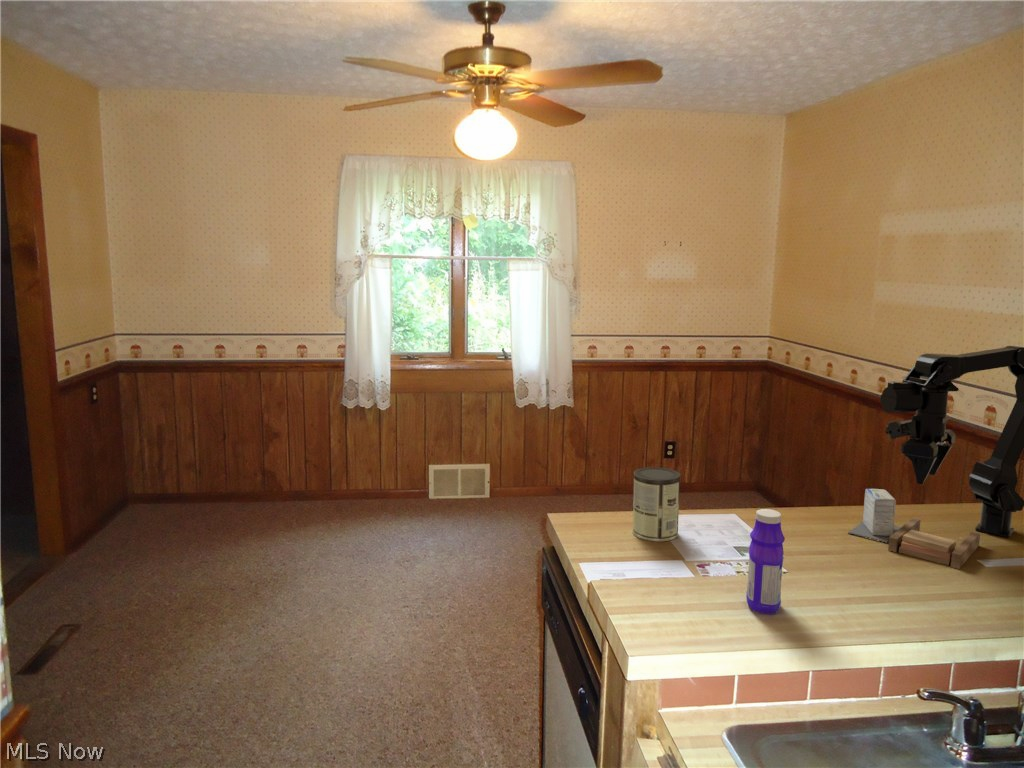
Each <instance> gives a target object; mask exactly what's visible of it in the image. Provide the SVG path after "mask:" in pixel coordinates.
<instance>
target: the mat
mask: <svg viewBox="0 0 1024 768" xmlns="http://www.w3.org/2000/svg"><path fill="white" fill-rule="evenodd" d="M901 527H902V526H897V525H894V533H895V532H896V531H898V530H899V529H900V528H901ZM894 533H893V534H894ZM847 534H848V535H851V534H854V535H853V536H855V535H859V536H862V537H861V538H863V537H867V538H871V539H875V540H879V541H882V542H885V543H884V544H886V543H887V542H888V541H889V537H890V536H877V535H872V533H871V532H870V531H869V530H868V529H867V527H866V526H865V525H864V524H863V521H862V522H860V523H859V524H857V525H856V526H855V527H853V528H852V529H850V530H849V531H848V532H847ZM859 536H858V537H859ZM867 538H866V539H867ZM871 539H870V540H871ZM882 542H881V543H882ZM888 543H889V542H888ZM888 543H887V544H888Z"/></svg>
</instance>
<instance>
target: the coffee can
mask: <svg viewBox="0 0 1024 768" xmlns="http://www.w3.org/2000/svg"><path fill="white" fill-rule="evenodd" d="M681 477H682V476H681V473H680V472H678V471H677V470H674V469H670V468H665V467H654V466H652V467H651V466H650V467H649V466H648V467H643V468H642V467H641V468H638V469H635V470H634V471H633V504H632V508H633V509H632V510H633V512H632V533H633V535H634V536H635V537H637V538H639V539H641V540H644V541H650V542H663V543H664V542H668V541H669V542H670V541H673V540H675V539H677V538H678V536H679V514H680V513H679V511H680V488H681V487H680V486H681V484H680V483H681V482H680V481H681Z"/></svg>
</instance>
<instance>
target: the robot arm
mask: <svg viewBox="0 0 1024 768" xmlns="http://www.w3.org/2000/svg"><path fill="white" fill-rule="evenodd" d="M1006 367H1007V369H1008V371H1009V372H1010V373H1011V374H1012V375H1013V376H1014V377H1015V378H1016V380H1015V384H1014V390H1015V395H1016V396H1015V397H1016V401H1015V403H1014V405H1013V407H1012V409H1011V412H1010V414H1009V416H1008V418H1007V420H1006V423H1005V425H1004V426H1003V429H1002V431H1001V433H1000V436H999V438H998V439H997V441H996V442H997V443H996V445H995V447H994V449H993V452H992V453H991V456H990V457H989V458H988V459H987V460H985V461H984V462H981V461H976V462H975V463H974V465H973V468H972V471H971V472H970V474H969V475H968V478H969V482H968V486H969V487H970V490H971V491H972V493H973V498H974V499H975V500H977V501H980V502H982V503H981V513H980V521H979V523H978V524H977V525H976V526H975V528H974V529H975V530H974V531H976V532H981V533H982V532H983V533H987V534H991V535H996V536H1001V537H1005V538H1010V537H1011V536H1012V534H1013V533H1014V532H1015V528H1014V527H1012V520H1013V519H1012V518H1013V513H1016V512H1021V511H1022V510H1023V509H1024V499H1023V498H1022V496H1020V495H1019V493H1018V492H1017V491H1016V488H1017V485H1018V475H1017V473H1018V472H1017V468H1016V467H1017V464H1018V463H1019V460H1020V458H1021V456H1022V453H1023V451H1024V347H1023V346H1016V345H1007V346H1004V347H1000V348H999V347H998V348H993V349H986V350H980V351H973V352H967V353H960V354H959V353H958V354H945V353H922V354H921V355H919V356H918V358H917V359H916V361H915V364H914V366H912V368H911V369H910V370H909V372H908V373H906V374H907V375H906V376H905V377H904V378H903V380H902V381H900V382H899V381H888V382H887V387H885V388H884V389H883V390H882V392H881V393H882V394H880V398H879V399H880V405H881V408H882V409H883V410H884V412H886V413H888V414H890V413H891V414H893V413H895V414H896V413H914V412H915V414H913V416H911V419H908V420H902V421H899V420H897V419H896V420H894V421H889V422H888V425H885V434H886V435H888V437H889V440H896V439H897V438H902V437H909V439H907V440H906V441H905V442H903V443H901V445H900V446H901V449H900V453H901V454H903V456H904V457H906V458H907V459H909V460H910V461H911V464H912V467H913V472H914V476H915V480H916V483H917V484H918V485H919V484H920V485H924V483H925V481H926V479H927V478H928V475H931V476H935V475H936V473H937V472H938V470H939V468H940V467H941V465H942V463H943V462H944V460H945V459H946V457H947V455H948V454H949V452H950V451H951V449H952V448H953V446H954V444H955V443H956V433H955V432H954V431H953V430H952V429H947V427H946V423H947V421H949V419H950V416H949V415H947V414H948V413H947V412H948V411H947V410H948V400H949V392H958V391H959V388H958V387H957V385H955V384H954V383H953V381H955V380H957V379H960V378H961V377H962V376H964V375H966V374H969V373H973V372H980V371H981V372H982V371H986V370H993V369H994V370H995V369H1000V368H1006ZM947 442H948V443H947Z"/></svg>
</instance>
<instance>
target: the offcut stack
mask: <svg viewBox="0 0 1024 768" xmlns="http://www.w3.org/2000/svg"><path fill="white" fill-rule="evenodd" d="M956 547H957V540H955V539H950V538H947V537H943V536H939V535H935V534H930V533H926V532H923V531H920V530H919V531H915V530H910V531H909V532H907V533H906V534H905V535H903V539H902V542H901V546H900V547H899V550H898V553H900V554H902V553H903V554H902V555H907V556H911V557H915V558H919V559H922V560H927V561H930V562H933V563H938V564H941V565H945V566H951V558H952V552H953V551H954V550H955V549H956Z"/></svg>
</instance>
